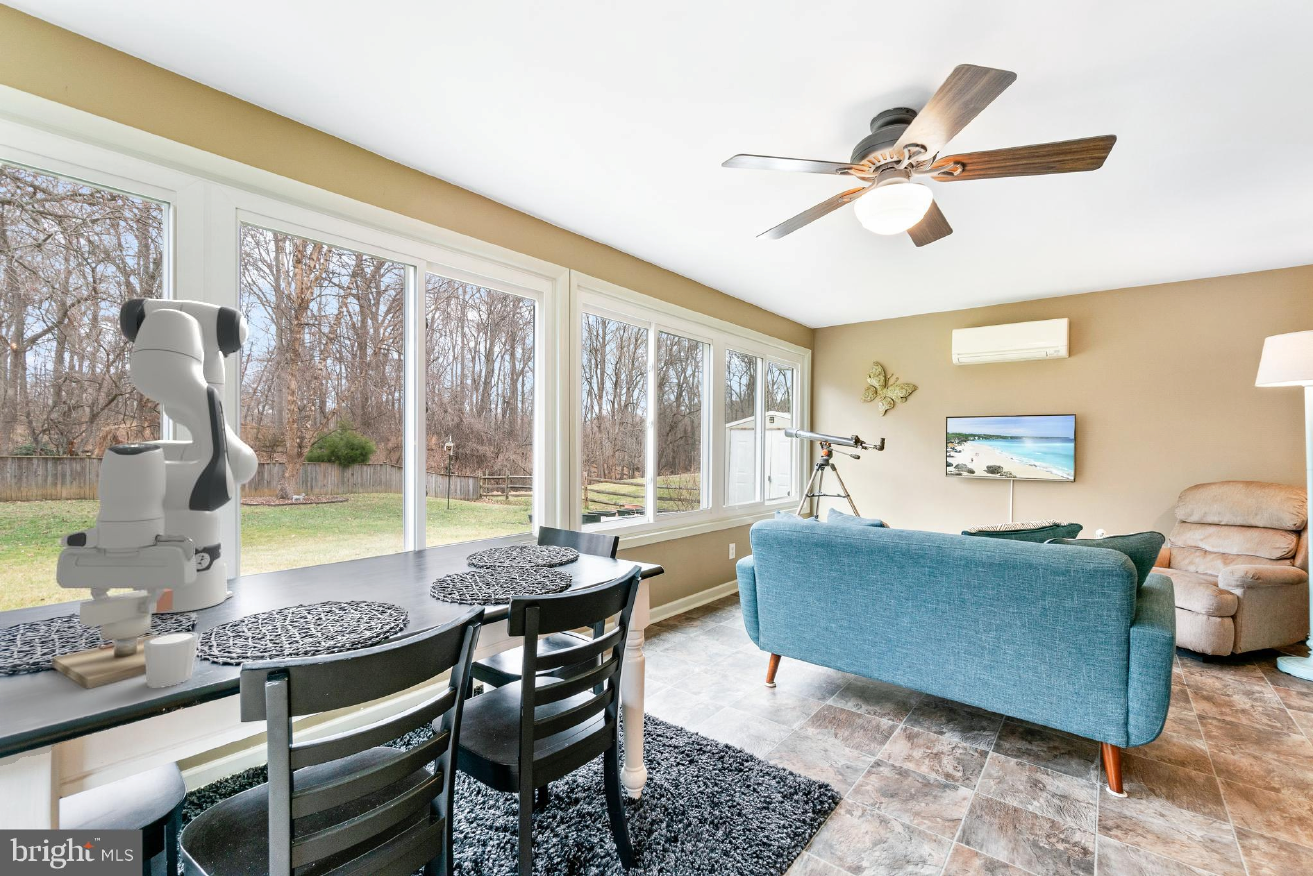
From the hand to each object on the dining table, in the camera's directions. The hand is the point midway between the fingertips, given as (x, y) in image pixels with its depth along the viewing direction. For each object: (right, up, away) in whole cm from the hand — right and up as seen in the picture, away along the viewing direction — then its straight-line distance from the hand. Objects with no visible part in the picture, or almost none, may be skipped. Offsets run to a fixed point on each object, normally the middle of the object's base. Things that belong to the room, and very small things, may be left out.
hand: (127, 612), depth 98 cm
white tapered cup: (+13, -10, -6) cm, 17 cm away
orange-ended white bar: (0, -4, 0) cm, 4 cm away
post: (0, -7, 0) cm, 7 cm away
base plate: (0, -9, 0) cm, 9 cm away
